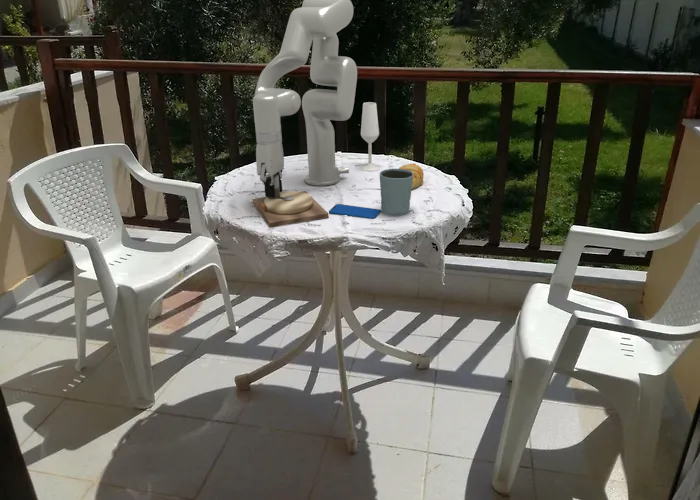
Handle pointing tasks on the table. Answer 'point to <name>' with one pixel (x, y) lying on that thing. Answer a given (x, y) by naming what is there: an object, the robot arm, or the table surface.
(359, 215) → the smartphone
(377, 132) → the champagne flute
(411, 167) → the croissant
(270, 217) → the board
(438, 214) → the table surface
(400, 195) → the grey-green cup
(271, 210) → the dial
